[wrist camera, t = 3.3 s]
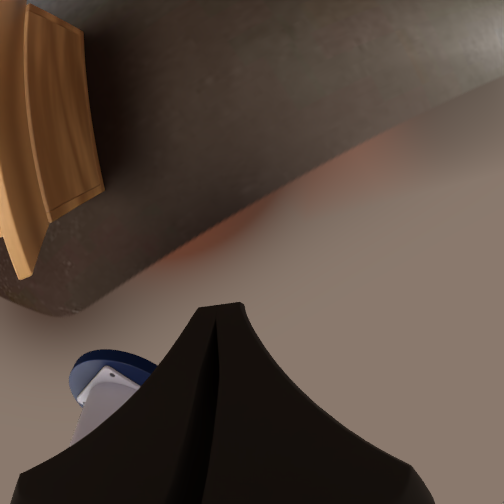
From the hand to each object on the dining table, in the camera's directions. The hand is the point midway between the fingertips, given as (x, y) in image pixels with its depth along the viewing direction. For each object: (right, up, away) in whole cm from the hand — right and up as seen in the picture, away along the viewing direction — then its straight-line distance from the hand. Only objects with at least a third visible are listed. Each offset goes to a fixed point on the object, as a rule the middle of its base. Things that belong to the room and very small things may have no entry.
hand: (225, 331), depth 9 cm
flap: (-7, +8, -3) cm, 11 cm away
